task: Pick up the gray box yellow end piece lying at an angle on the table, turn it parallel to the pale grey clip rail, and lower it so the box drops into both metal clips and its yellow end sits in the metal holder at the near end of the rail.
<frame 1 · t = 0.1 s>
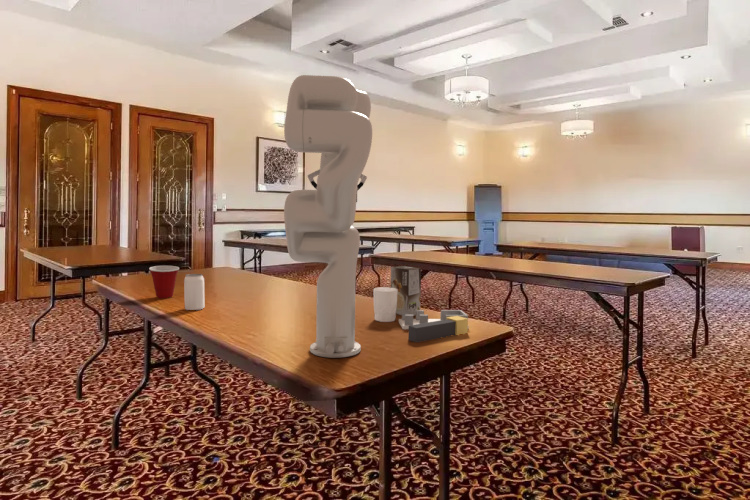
hand: (337, 204, 133), 37 cm above the table, tool pointing down, fingers open, 9 cm apart
coffee box: (405, 314, 156), on the table
clip rail: (432, 325, 140), on the table
plastic cup: (164, 297, 178), on the table
gray box yellow end: (456, 332, 132), on the table
can: (194, 309, 158), on the table
white cup: (384, 320, 147), on the table
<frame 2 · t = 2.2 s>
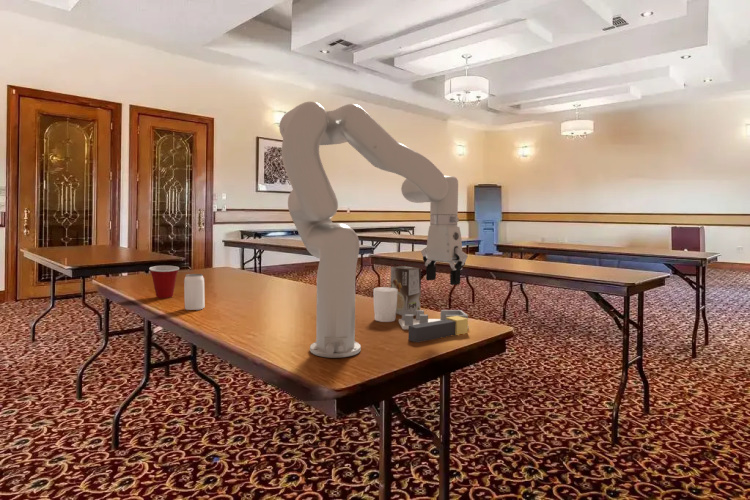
hand: (442, 282, 127), 15 cm above the table, tool pointing down, fingers open, 9 cm apart
nothing on the table moved.
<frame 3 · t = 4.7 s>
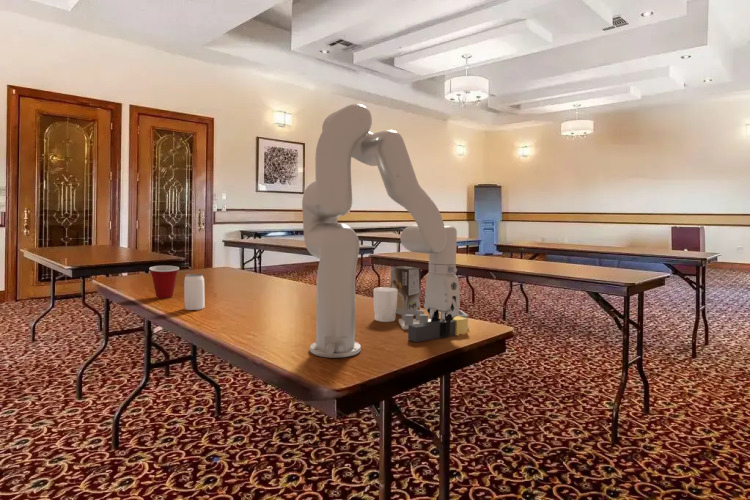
hand: (440, 333, 128), 1 cm above the table, tool pointing down, fingers closed on gray box yellow end, 3 cm apart
gray box yellow end: (456, 332, 132), on the table, touching gripper
everything else where it was.
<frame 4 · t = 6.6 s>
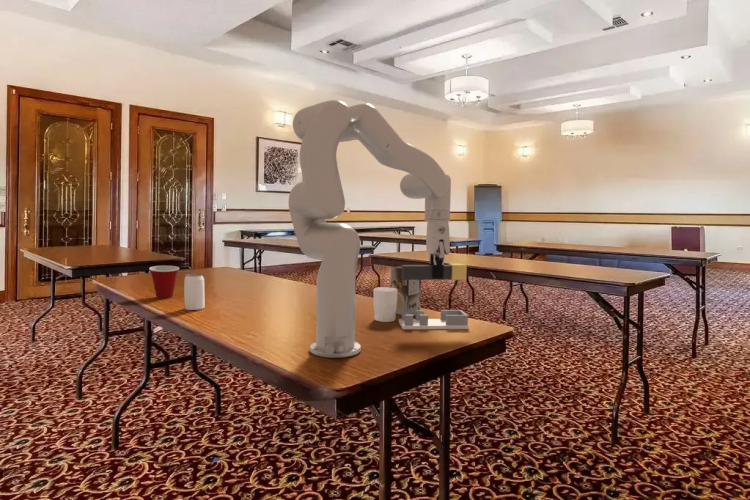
hand: (435, 276, 136), 16 cm above the table, tool pointing down, fingers closed on gray box yellow end, 3 cm apart
gray box yellow end: (456, 278, 137), point 15 cm above the table, touching gripper
everything else where it was.
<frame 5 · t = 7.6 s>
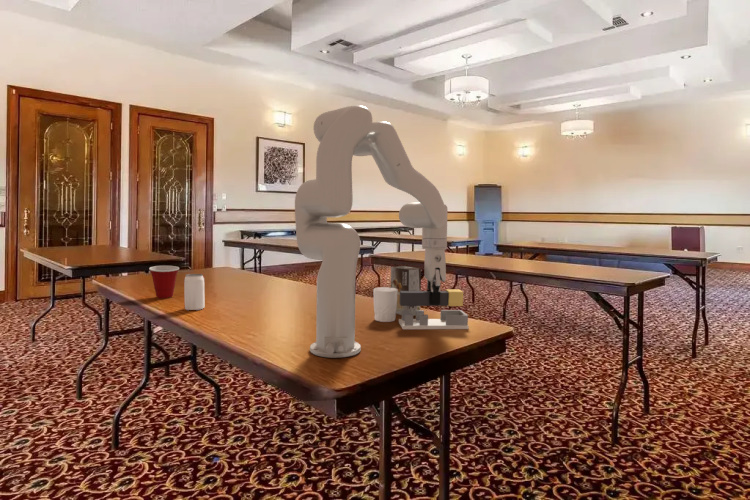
hand: (433, 302, 140), 7 cm above the table, tool pointing down, fingers closed on gray box yellow end, 3 cm apart
gray box yellow end: (453, 304, 140), point 7 cm above the table, touching gripper
everything else where it was.
when the fingers open (3 cm above the table, at t = 8.5 s): gray box yellow end drops 1 cm, resting on clip rail.
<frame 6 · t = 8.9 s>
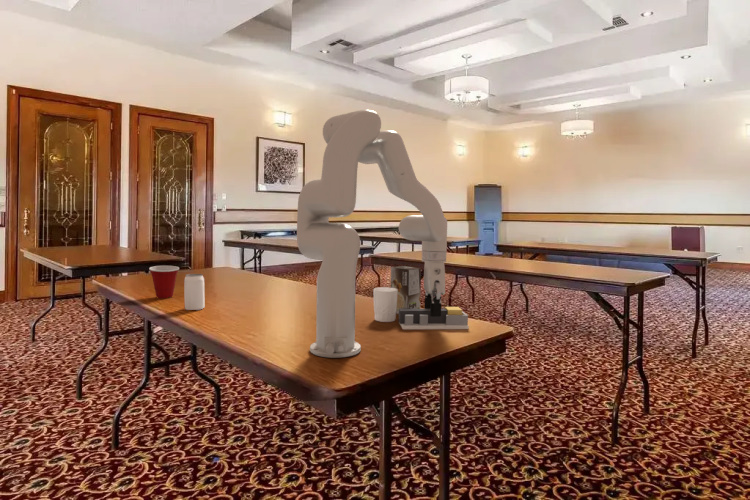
hand: (432, 312, 140), 4 cm above the table, tool pointing down, fingers open, 8 cm apart
gray box yellow end: (452, 322, 140), point 1 cm above the table, touching clip rail
everything else where it was.
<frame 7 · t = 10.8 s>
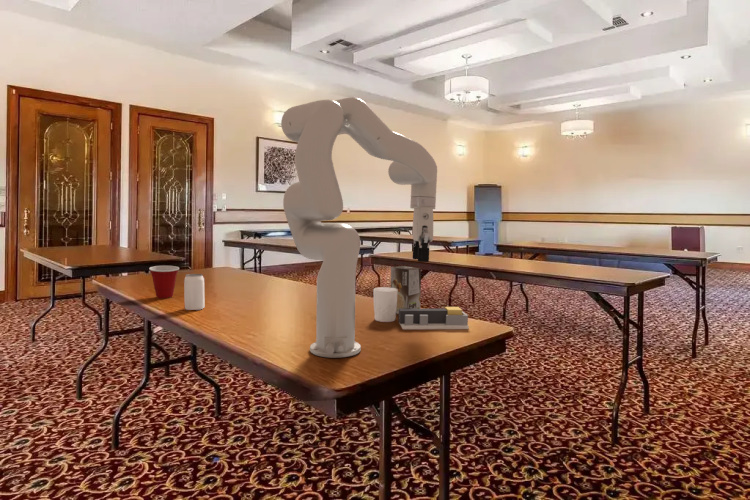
hand: (420, 260, 137), 20 cm above the table, tool pointing down, fingers open, 9 cm apart
nothing on the table moved.
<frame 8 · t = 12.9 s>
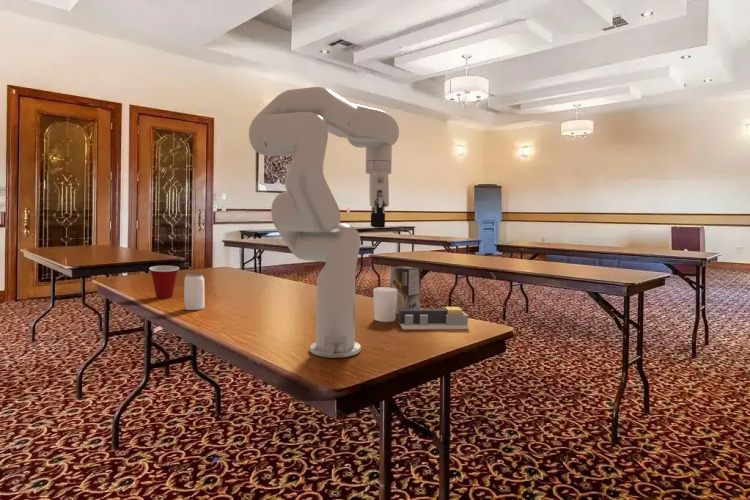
hand: (377, 227, 133), 30 cm above the table, tool pointing down, fingers open, 9 cm apart
nothing on the table moved.
at the end: gray box yellow end 0.1 cm from the target spot on the clip rail, point 1.0 cm above the clip rail's base; gray box yellow end tilted 0°; the gripper is holding nothing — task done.
